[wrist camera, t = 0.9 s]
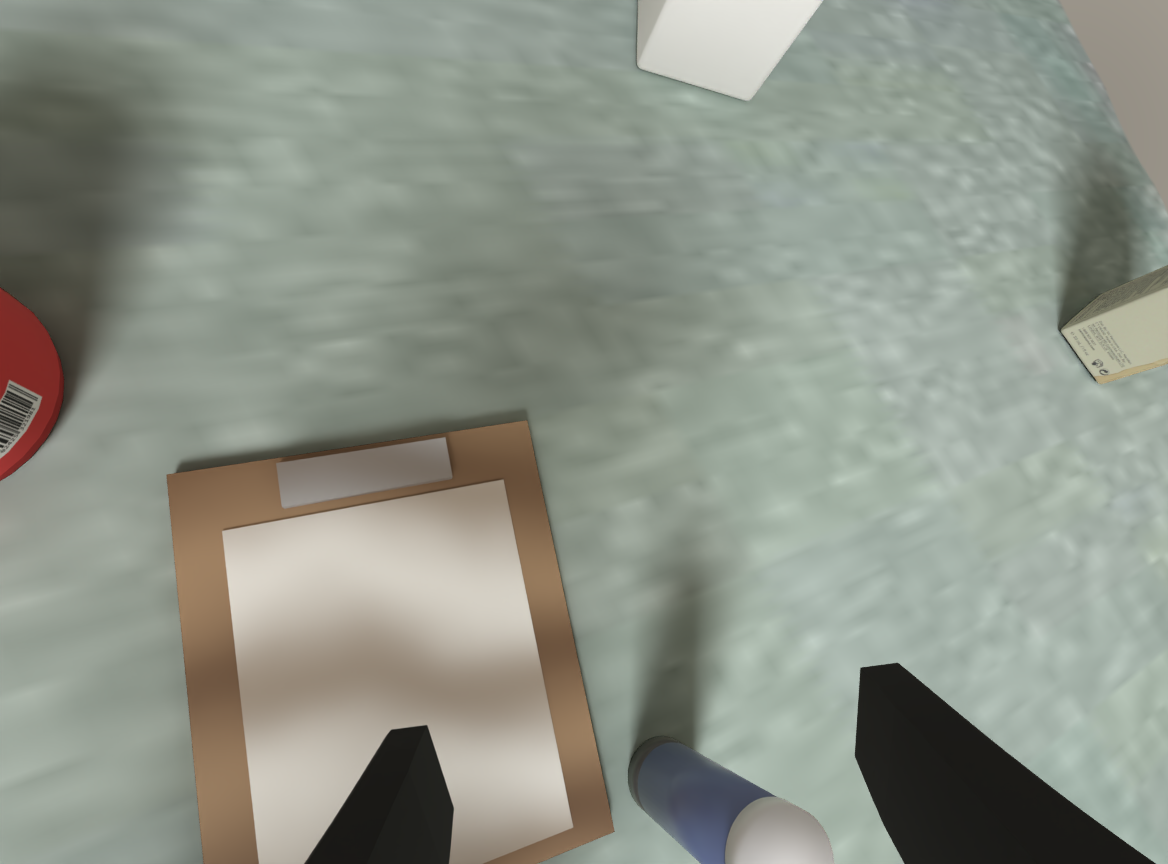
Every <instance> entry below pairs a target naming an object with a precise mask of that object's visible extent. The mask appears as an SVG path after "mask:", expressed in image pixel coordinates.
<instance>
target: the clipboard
mask: <svg viewBox="0 0 1168 864" xmlns="http://www.w3.org/2000/svg"><path fill="white" fill-rule="evenodd" d="M167 485H168V495H169V506H170V516H171V527H172V537H173V548H174V558H175V569H176V579H177V590H178V600H179V611H180V621H181V632H182V642H183V653H184V663H185V674H186V684H187V694H188V705H189V715H190V726H191V736H192V747H193V757H194V768H195V778H196V789H197V799H198V810H199V820H200V831H201V841H202V852H203V862H204V864H304V863H305V862H306V860H307V859H308V857H309V856H310V854H311V853H312V851H313V850H314V848H315V847H316V845H317V844H318V842H319V841H320V839H321V838H322V836H323V835H324V833H325V832H326V830H327V829H328V827H329V826H330V824H331V823H332V821H333V819H334V818H335V816H336V815H337V813H338V812H339V810H340V809H341V807H342V805H343V804H344V802H345V801H346V799H347V798H348V796H349V794H350V793H351V791H352V790H353V788H354V786H355V785H356V783H357V782H358V780H359V779H360V777H361V775H362V774H363V772H364V770H365V769H366V767H367V766H368V764H369V762H370V761H371V759H372V758H373V756H374V754H375V753H376V751H377V749H378V748H379V746H380V745H381V743H382V741H383V740H384V738H385V737H386V735H387V734H388V733H389V732H390V730H392V729H399V728H407V727H415V726H422V725H427V726H428V729H429V732H430V735H431V738H432V741H433V744H434V747H435V750H436V754H437V757H438V760H439V763H440V766H441V769H442V772H443V775H444V778H445V781H446V785H447V788H448V791H449V794H450V797H451V800H452V803H453V806H454V814H453V826H452V839H451V850H450V860H449V864H537V863H540V862H542V861H545V860H547V859H549V858H552V857H554V856H557V855H559V854H562V853H564V852H566V851H569V850H571V849H574V848H576V847H579V846H581V845H583V844H586V843H588V842H591V841H593V840H596V839H598V838H600V837H603V836H605V835H608V834H610V833H613V832H615V831H614V827H613V822H612V817H611V813H610V808H609V803H608V798H607V794H606V789H605V784H604V780H603V775H602V770H601V765H600V761H599V756H598V751H597V747H596V742H595V737H594V733H593V728H592V723H591V718H590V714H589V709H588V704H587V700H586V695H585V690H584V685H583V681H582V676H581V671H580V667H579V662H578V657H577V652H576V648H575V643H574V638H573V634H572V629H571V624H570V620H569V615H568V610H567V605H566V601H565V596H564V591H563V587H562V582H561V577H560V572H559V568H558V563H557V558H556V554H555V549H554V544H553V539H552V535H551V530H550V525H549V521H548V516H547V511H546V507H545V502H544V497H543V492H542V488H541V483H540V478H539V474H538V469H537V464H536V459H535V455H534V450H533V445H532V441H531V436H530V431H529V426H528V422H527V420H526V421H519V422H513V423H506V424H499V425H493V426H486V427H479V428H473V429H466V430H459V431H453V432H446V433H440V434H433V435H426V436H420V437H413V438H406V439H400V440H393V441H387V442H380V443H373V444H367V445H360V446H353V447H347V448H340V449H333V450H327V451H320V452H314V453H307V454H300V455H294V456H287V457H280V458H274V459H267V460H260V461H254V462H247V463H241V464H234V465H227V466H221V467H214V468H207V469H201V470H194V471H187V472H181V473H174V474H168V475H167Z"/></svg>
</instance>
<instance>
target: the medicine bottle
mask: <svg viewBox="0 0 1168 864" xmlns="http://www.w3.org/2000/svg"><path fill="white" fill-rule="evenodd" d="M822 1H823V0H638V27H637V66H638V67H639V68H640V69H642V70H645V71H648V72H652V73H655V74H658V75H662V76H665V77H668V78H672V79H675V80H678V81H681V82H685V83H688V84H691V85H695V86H698V87H701V88H705V89H708V90H711V91H714V92H718V93H721V94H724V95H728V96H731V97H734V98H738V99H741V100H744V101H749V100H750V99H752V98H753V97H754V95H755V94H756V92H757V91H758V90H759V88H760V87H761V86H762V84H763V83H764V81H765V80H766V79H767V77H768V76H769V75H770V73H771V72H772V70H773V69H774V68H775V66H776V65H777V63H778V62H779V61H780V59H781V58H782V57H783V55H784V54H785V52H786V51H787V50H788V48H789V47H790V46H791V44H792V43H793V41H794V40H795V39H796V37H797V36H798V34H799V33H800V32H801V30H802V29H803V28H804V26H805V25H806V23H807V22H808V21H809V19H810V18H811V17H812V15H813V14H814V12H815V11H816V10H817V8H818V7H819V6H820V4H821V3H822Z"/></svg>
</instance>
